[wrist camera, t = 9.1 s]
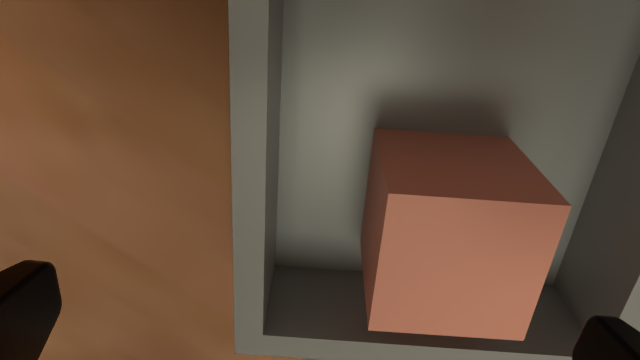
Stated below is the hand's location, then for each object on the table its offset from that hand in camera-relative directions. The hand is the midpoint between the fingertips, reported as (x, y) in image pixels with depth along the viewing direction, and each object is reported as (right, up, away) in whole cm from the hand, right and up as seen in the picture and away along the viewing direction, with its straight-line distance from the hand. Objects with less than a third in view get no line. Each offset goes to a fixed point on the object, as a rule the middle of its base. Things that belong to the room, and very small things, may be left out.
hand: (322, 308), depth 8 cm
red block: (+4, +2, +10) cm, 11 cm away
